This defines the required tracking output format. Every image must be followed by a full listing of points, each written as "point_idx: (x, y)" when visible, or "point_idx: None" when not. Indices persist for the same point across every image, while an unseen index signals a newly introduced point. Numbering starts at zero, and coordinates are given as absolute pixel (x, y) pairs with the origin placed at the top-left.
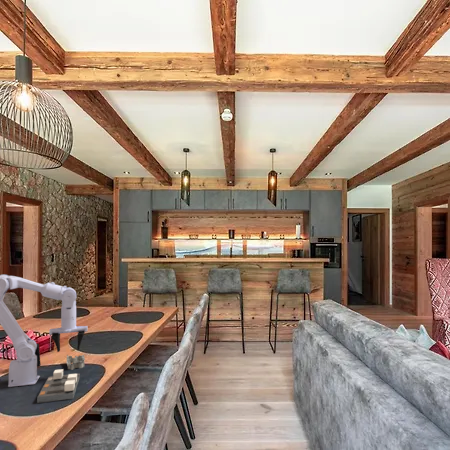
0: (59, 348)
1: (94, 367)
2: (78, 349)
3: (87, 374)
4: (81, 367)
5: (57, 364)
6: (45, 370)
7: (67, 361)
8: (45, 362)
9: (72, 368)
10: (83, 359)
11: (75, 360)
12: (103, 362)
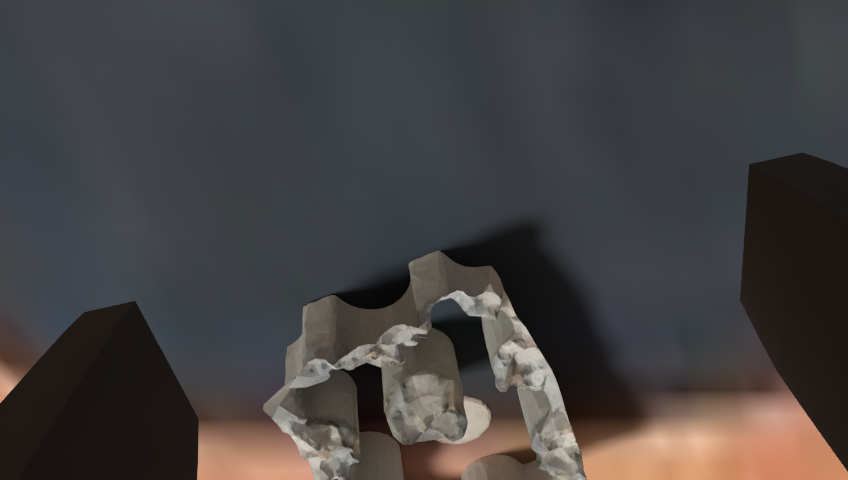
0: (794, 282)
1: None
2: (89, 316)
3: (60, 48)
4: (307, 309)
5: (680, 408)
6: None
7: (550, 404)
8: (831, 454)
9: (425, 267)
10: (311, 440)
11: (430, 415)
12: None
